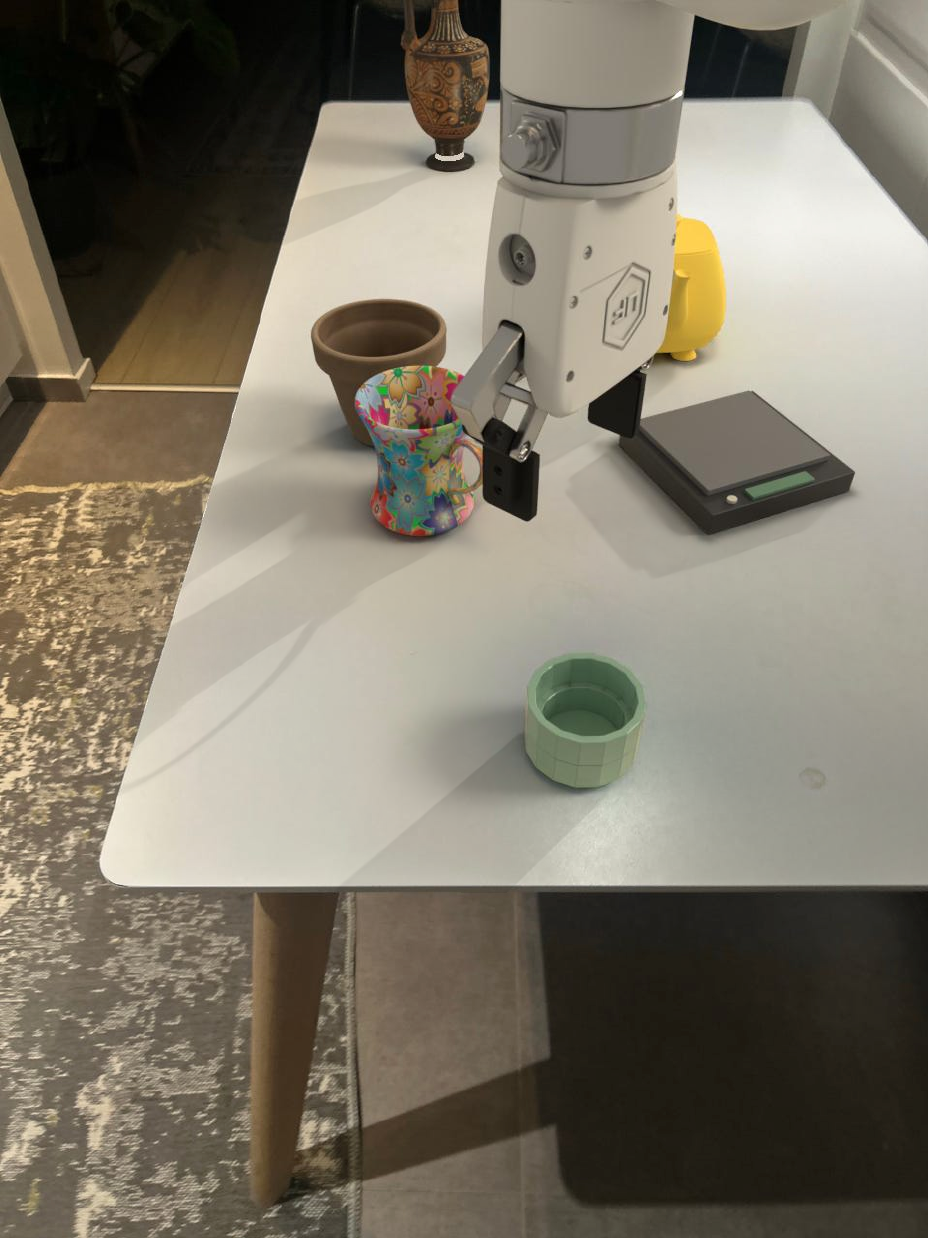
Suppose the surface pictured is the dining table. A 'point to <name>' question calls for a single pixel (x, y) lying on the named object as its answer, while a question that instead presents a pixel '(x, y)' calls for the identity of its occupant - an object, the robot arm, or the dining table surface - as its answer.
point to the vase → (445, 81)
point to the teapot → (694, 291)
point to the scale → (735, 461)
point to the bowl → (583, 719)
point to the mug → (417, 450)
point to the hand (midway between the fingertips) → (563, 466)
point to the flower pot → (374, 346)
